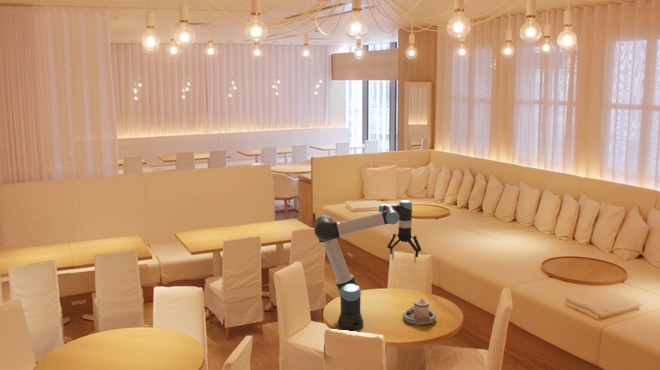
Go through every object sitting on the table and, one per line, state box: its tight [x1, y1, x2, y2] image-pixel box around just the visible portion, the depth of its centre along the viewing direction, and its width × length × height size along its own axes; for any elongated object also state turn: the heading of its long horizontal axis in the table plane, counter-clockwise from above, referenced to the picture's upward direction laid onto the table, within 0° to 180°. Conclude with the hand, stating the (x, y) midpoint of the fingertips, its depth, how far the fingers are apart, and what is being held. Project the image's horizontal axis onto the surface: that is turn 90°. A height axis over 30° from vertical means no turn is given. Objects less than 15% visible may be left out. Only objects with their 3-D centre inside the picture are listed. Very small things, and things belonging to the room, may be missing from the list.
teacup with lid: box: [409, 297, 430, 320], centre depth 382 cm, size 12×9×12 cm
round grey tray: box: [402, 308, 437, 327], centre depth 383 cm, size 19×19×3 cm
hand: (403, 260), depth 383 cm, fingers open, 13 cm apart
